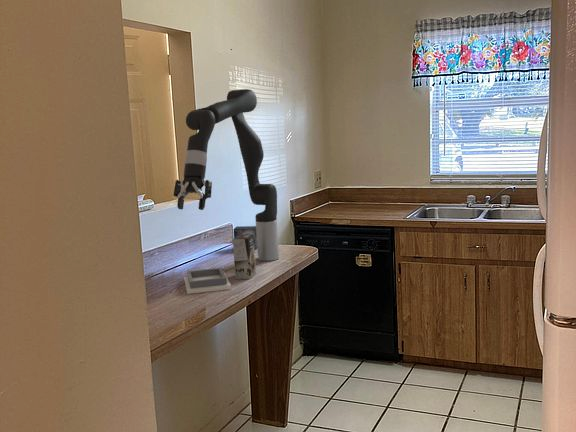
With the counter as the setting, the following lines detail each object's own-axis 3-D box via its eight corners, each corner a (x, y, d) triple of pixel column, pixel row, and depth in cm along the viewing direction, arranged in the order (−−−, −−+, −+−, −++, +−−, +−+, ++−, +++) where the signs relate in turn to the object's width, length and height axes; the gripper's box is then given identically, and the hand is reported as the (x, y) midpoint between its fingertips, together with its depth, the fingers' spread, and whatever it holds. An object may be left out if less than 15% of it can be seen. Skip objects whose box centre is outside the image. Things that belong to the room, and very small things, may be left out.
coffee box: (250, 279, 233) (248, 238, 230) (234, 279, 234) (232, 238, 232) (256, 273, 242) (254, 233, 239) (241, 273, 243) (238, 234, 241)
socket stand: (184, 280, 236) (183, 270, 235) (224, 276, 239) (224, 266, 239) (187, 293, 218) (186, 283, 217) (231, 288, 221) (230, 278, 220)
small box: (234, 250, 286) (232, 228, 285) (237, 247, 293) (236, 226, 291) (255, 250, 284) (254, 228, 283) (258, 247, 291) (257, 225, 289)
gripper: (218, 167, 215) (213, 211, 213) (184, 167, 221) (179, 210, 219) (207, 162, 208) (202, 208, 206) (172, 162, 214) (167, 207, 212)
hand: (190, 209), depth 212 cm, fingers open, 8 cm apart
